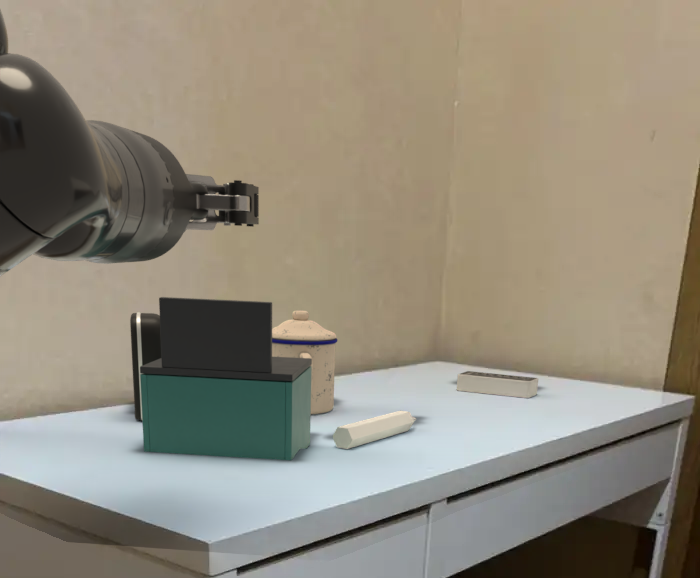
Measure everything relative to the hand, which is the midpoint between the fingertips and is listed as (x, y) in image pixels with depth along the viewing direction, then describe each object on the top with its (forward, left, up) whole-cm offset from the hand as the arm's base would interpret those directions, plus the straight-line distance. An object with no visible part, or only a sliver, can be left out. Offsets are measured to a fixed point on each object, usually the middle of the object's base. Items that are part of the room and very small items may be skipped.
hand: (184, 204), depth 71 cm
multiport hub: (+28, +64, -22) cm, 73 cm away
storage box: (0, +15, -22) cm, 27 cm away
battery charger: (-13, +31, -22) cm, 40 cm away
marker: (+14, +27, -22) cm, 38 cm away
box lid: (0, +15, -14) cm, 20 cm away
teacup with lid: (+3, +40, -22) cm, 46 cm away
